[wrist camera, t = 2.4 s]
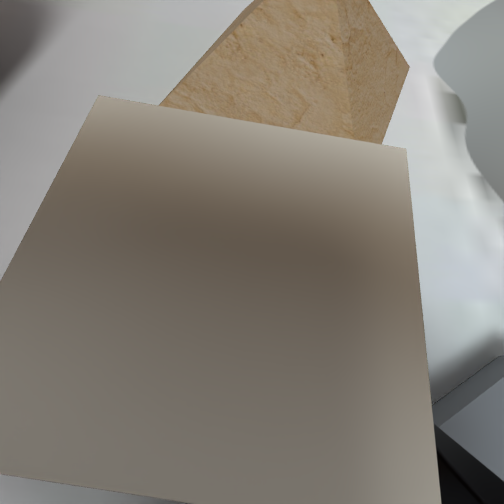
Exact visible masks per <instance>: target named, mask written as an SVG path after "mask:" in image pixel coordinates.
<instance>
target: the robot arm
mask: <svg viewBox="0 0 504 504" xmlns="http://www.w3.org/2000/svg"><path fill="white" fill-rule="evenodd" d="M434 433H435V444H436V454H437V464H438V474H439V484H440V494H441V504H504V481H503V480H502V479H501V478H499V477H498V476H497V475H496V474H495V473H493V472H492V471H491V470H490V469H488V468H487V467H486V466H485V465H484V464H482V463H481V462H480V461H479V460H478V459H476V458H475V457H474V456H473V455H472V454H470V453H469V452H468V451H467V450H466V449H464V448H463V447H462V446H461V445H459V444H458V443H457V442H456V441H455V440H453V439H452V438H451V437H450V436H449V435H447V434H446V433H445V432H444V431H443V430H441V429H440V428H439V427H438V426H437V425H435V424H434Z"/></svg>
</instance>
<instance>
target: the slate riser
mask: <svg viewBox="0 0 504 504" xmlns="http://www.w3.org/2000/svg"><path fill="white" fill-rule="evenodd" d="M432 413H433V423H434V424H435V425H437V426H438V427H439V428H440V429H441V430H443V431H444V432H445V433H446V434H447V435H449V436H450V437H451V438H452V439H453V440H455V441H456V442H457V443H458V444H459V445H461V446H462V447H463V448H464V449H466V450H467V451H468V452H469V453H470V454H472V455H473V456H474V457H475V458H476V459H478V460H479V461H480V462H481V463H482V464H484V465H485V466H486V467H487V468H488V469H490V470H491V471H492V472H493V473H495V474H496V475H497V476H498V477H499V478H501V479H502V480H503V481H504V355H503V356H499V357H497V358H496V359H495V360H493V361H492V362H491V363H489V364H488V365H486V366H485V367H484V368H482V369H481V370H480V371H478V372H477V373H476V374H474V375H473V376H472V377H470V378H469V379H468V380H466V381H465V382H463V383H462V384H461V385H459V386H458V387H457V388H455V389H454V390H453V391H451V392H450V393H449V394H447V395H446V396H444V397H443V398H442V399H440V400H439V401H438V402H436V403H435V404H434V405H432Z"/></svg>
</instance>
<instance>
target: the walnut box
mask: <svg viewBox="0 0 504 504" xmlns="http://www.w3.org/2000/svg"><path fill="white" fill-rule="evenodd" d="M0 474H3V475H9V476H16V477H22V478H29V479H35V480H42V481H48V482H55V483H61V484H68V485H74V486H81V487H87V488H94V489H100V490H107V491H113V492H120V493H126V494H133V495H139V496H146V497H152V498H159V499H165V500H172V501H179V502H185V503H192V504H441V494H440V484H439V474H438V464H437V454H436V444H435V433H434V423H433V413H432V403H431V393H430V383H429V373H428V363H427V353H426V343H425V333H424V323H423V313H422V303H421V293H420V283H419V273H418V263H417V253H416V243H415V232H414V222H413V212H412V202H411V192H410V182H409V172H408V162H407V152H406V149H404V148H399V147H393V146H387V145H381V144H376V143H370V142H364V141H358V140H353V139H347V138H341V137H336V136H330V135H324V134H318V133H313V132H307V131H301V130H295V129H290V128H284V127H278V126H272V125H267V124H261V123H255V122H249V121H244V120H238V119H232V118H226V117H221V116H215V115H209V114H203V113H198V112H192V111H186V110H180V109H175V108H169V107H163V106H157V105H152V104H146V103H140V102H134V101H129V100H123V99H117V98H111V97H106V96H100V95H98V97H97V99H96V101H95V103H94V105H93V107H92V109H91V110H90V112H89V114H88V116H87V118H86V120H85V122H84V124H83V126H82V128H81V129H80V131H79V133H78V135H77V137H76V139H75V141H74V143H73V145H72V147H71V148H70V150H69V152H68V154H67V156H66V158H65V160H64V162H63V164H62V165H61V167H60V169H59V171H58V173H57V175H56V177H55V179H54V181H53V183H52V184H51V186H50V188H49V190H48V192H47V194H46V196H45V198H44V200H43V202H42V203H41V205H40V207H39V209H38V211H37V213H36V215H35V217H34V219H33V221H32V222H31V224H30V226H29V228H28V230H27V232H26V234H25V236H24V238H23V240H22V241H21V243H20V245H19V247H18V249H17V251H16V253H15V255H14V257H13V258H12V260H11V262H10V264H9V266H8V268H7V270H6V272H5V274H4V276H3V277H2V279H1V281H0Z"/></svg>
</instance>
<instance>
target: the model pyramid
mask: <svg viewBox="0 0 504 504" xmlns="http://www.w3.org/2000/svg"><path fill="white" fill-rule="evenodd" d="M408 70H409V65H408V64H407V62H406V60H405V59H404V57H403V55H402V54H401V52H400V51H399V49H398V47H397V46H396V44H395V43H394V41H393V39H392V38H391V36H390V34H389V33H388V31H387V30H386V28H385V26H384V25H383V23H382V22H381V20H380V18H379V17H378V15H377V13H376V12H375V10H374V9H373V7H372V5H371V4H370V2H369V1H368V0H254V1H253V2H252V3H251V4H250V5H249V6H247V7H246V8H245V9H244V10H243V11H242V13H241V14H240V15H239V16H238V17H237V18H236V19H235V20H234V22H233V23H232V24H231V25H230V26H229V27H228V28H227V29H226V31H225V32H224V33H223V34H222V35H221V36H220V37H219V38H218V39H217V41H216V42H215V43H214V44H213V45H212V46H211V47H210V48H209V50H208V51H207V52H206V53H205V54H204V55H203V56H202V57H201V59H200V60H199V61H198V62H197V63H196V64H195V65H194V66H193V68H192V69H191V70H190V71H189V72H188V73H187V74H186V75H185V76H184V78H183V79H182V80H181V81H180V82H179V83H178V84H177V85H176V87H175V88H174V89H173V90H172V91H171V92H170V93H169V94H168V96H167V97H166V98H165V99H164V100H163V101H162V102H161V103H160V104H159V106H163V107H169V108H175V109H180V110H186V111H192V112H198V113H203V114H209V115H215V116H221V117H226V118H232V119H238V120H244V121H249V122H255V123H261V124H267V125H272V126H278V127H284V128H290V129H295V130H301V131H307V132H313V133H318V134H324V135H330V136H336V137H341V138H347V139H353V140H358V141H364V142H370V143H376V144H382V142H383V139H384V136H385V133H386V131H387V128H388V125H389V122H390V120H391V117H392V114H393V111H394V109H395V106H396V103H397V100H398V98H399V95H400V92H401V89H402V87H403V84H404V81H405V78H406V76H407V73H408Z"/></svg>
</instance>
